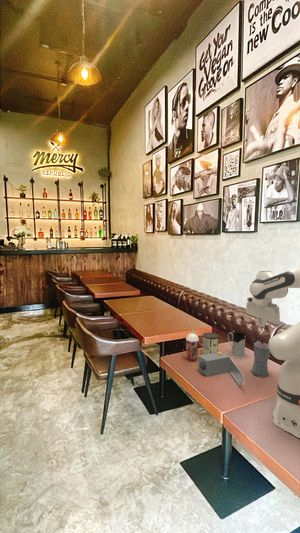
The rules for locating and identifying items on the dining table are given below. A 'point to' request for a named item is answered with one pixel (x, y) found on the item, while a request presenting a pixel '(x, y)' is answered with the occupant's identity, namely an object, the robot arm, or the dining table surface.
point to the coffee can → (210, 343)
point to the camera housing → (213, 363)
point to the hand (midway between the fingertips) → (261, 326)
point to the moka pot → (260, 358)
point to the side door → (236, 372)
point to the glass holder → (238, 345)
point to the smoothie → (192, 346)
